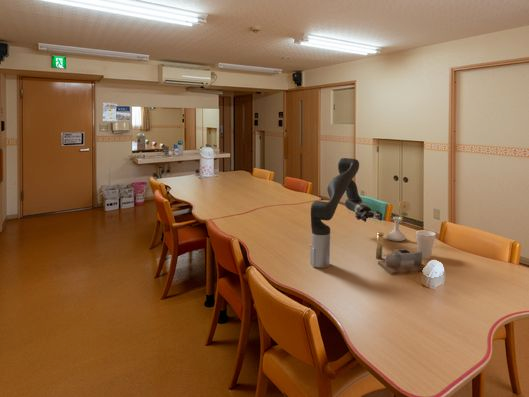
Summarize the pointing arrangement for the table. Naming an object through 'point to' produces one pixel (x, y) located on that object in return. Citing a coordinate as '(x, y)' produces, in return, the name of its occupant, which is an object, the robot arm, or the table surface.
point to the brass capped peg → (379, 245)
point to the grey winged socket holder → (403, 258)
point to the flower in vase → (396, 233)
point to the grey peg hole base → (397, 270)
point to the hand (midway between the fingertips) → (373, 219)
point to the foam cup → (425, 242)
